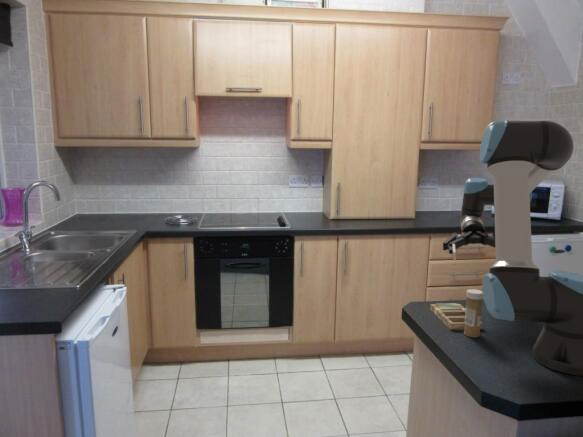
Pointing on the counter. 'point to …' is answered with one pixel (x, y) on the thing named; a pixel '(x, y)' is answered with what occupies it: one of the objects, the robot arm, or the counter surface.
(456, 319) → the slotted wooden board
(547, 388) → the counter surface
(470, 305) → the sprinkles bottle
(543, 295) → the robot arm
